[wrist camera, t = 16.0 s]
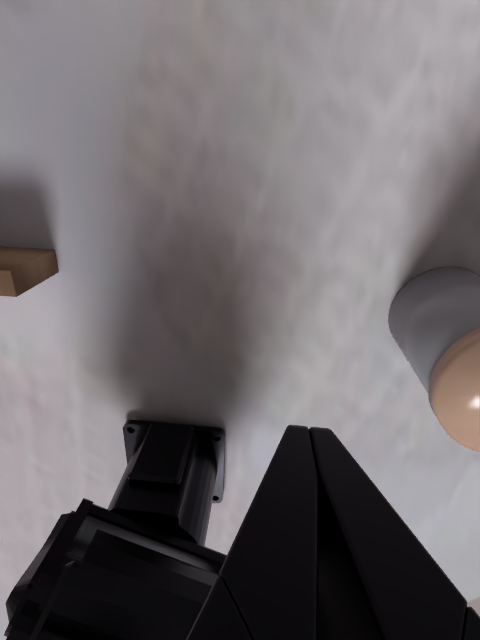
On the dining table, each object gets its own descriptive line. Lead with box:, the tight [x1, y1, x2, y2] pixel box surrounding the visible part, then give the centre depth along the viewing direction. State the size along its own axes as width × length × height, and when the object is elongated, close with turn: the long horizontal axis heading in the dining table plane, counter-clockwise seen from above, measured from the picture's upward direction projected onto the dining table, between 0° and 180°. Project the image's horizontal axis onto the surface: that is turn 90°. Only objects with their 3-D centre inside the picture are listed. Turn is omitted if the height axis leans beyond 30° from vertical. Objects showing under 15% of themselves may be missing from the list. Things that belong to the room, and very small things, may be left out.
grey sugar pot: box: [388, 267, 480, 452], centre depth 15 cm, size 5×5×7 cm
